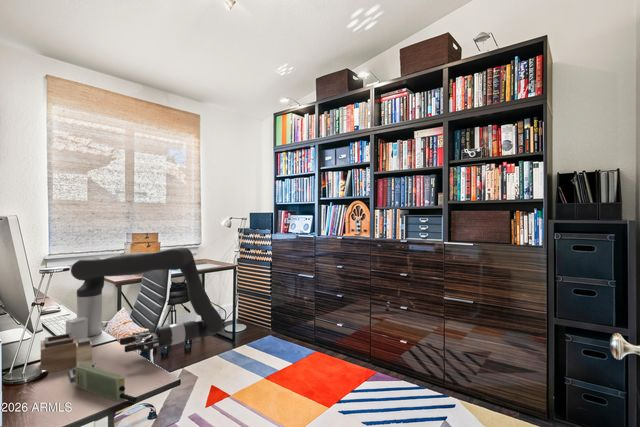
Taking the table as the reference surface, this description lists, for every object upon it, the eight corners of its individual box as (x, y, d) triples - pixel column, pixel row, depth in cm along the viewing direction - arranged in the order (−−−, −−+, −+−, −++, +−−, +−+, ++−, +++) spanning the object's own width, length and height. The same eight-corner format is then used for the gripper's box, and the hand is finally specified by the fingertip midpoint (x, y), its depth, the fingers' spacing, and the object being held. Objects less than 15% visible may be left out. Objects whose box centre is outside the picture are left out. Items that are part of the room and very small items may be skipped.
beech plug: (76, 373, 115) (76, 339, 115) (90, 370, 118) (90, 337, 118) (77, 378, 112) (77, 343, 112) (92, 374, 115) (92, 340, 114)
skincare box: (70, 354, 130) (70, 322, 130) (65, 351, 133) (65, 320, 132) (88, 348, 136) (88, 318, 136) (82, 346, 138) (82, 316, 138)
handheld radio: (85, 383, 109) (140, 401, 99) (74, 388, 106) (130, 407, 96) (84, 362, 109) (139, 378, 99) (73, 367, 106) (129, 384, 96)
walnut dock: (40, 363, 122) (40, 337, 122) (75, 355, 129) (75, 331, 129) (41, 373, 115) (41, 346, 115) (77, 365, 121) (77, 339, 121)
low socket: (69, 373, 115) (69, 369, 115) (95, 366, 120) (96, 363, 120) (70, 381, 109) (70, 378, 109) (99, 374, 114) (99, 371, 114)
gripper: (164, 320, 138) (118, 329, 127) (176, 330, 127) (126, 340, 116) (164, 339, 138) (118, 349, 127) (176, 350, 127) (126, 362, 116)
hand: (122, 345), depth 122 cm, fingers open, 8 cm apart
